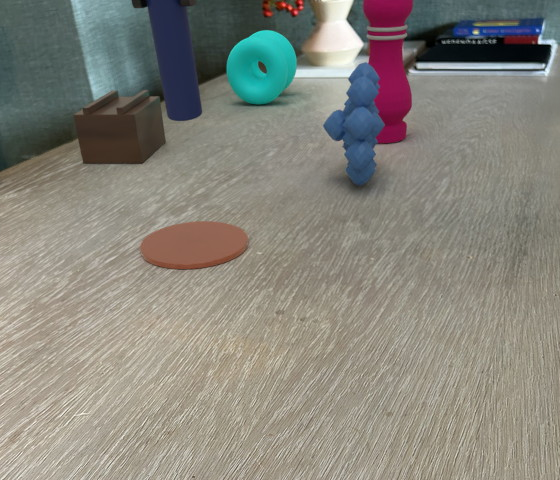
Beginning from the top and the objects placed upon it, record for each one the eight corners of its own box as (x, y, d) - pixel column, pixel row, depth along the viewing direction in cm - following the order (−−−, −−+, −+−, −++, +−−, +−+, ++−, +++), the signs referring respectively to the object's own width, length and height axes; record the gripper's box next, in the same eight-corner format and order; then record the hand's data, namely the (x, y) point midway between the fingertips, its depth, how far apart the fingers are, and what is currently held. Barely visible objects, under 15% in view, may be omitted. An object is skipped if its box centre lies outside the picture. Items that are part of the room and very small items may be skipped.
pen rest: (142, 163, 85) (133, 107, 81) (82, 163, 86) (71, 107, 82) (165, 141, 93) (158, 89, 89) (111, 141, 94) (102, 90, 91)
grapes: (327, 163, 82) (327, 56, 75) (383, 163, 81) (388, 54, 74) (318, 196, 72) (316, 76, 65) (381, 196, 71) (386, 75, 64)
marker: (169, -60, 47) (183, -69, 50) (127, -58, 48) (142, -68, 50) (197, 122, 56) (207, 107, 58) (161, 121, 57) (173, 106, 59)
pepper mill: (421, 137, 89) (433, -39, 78) (380, 148, 86) (387, -34, 75) (384, 127, 94) (391, -39, 83) (344, 137, 91) (346, -35, 80)
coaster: (157, 278, 57) (156, 273, 57) (129, 238, 65) (128, 233, 64) (265, 254, 60) (264, 249, 60) (225, 218, 68) (225, 214, 68)
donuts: (299, 93, 116) (297, 28, 110) (286, 106, 108) (283, 37, 102) (243, 93, 118) (239, 29, 112) (227, 106, 110) (221, 38, 104)
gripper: (248, -304, 44) (264, -2, 53) (48, -282, 46) (97, 4, 56) (221, -339, 38) (244, 9, 47) (-9, -312, 40) (58, 15, 50)
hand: (164, 5), depth 51 cm, fingers closed on marker, 3 cm apart
